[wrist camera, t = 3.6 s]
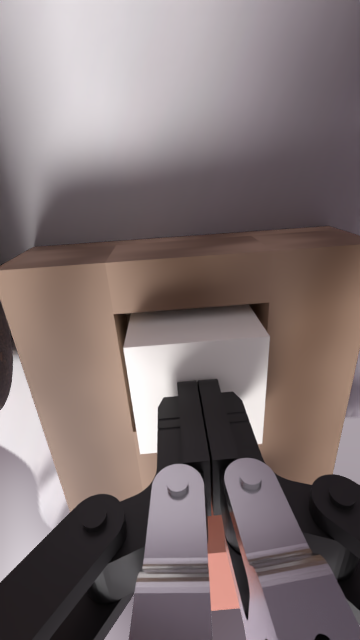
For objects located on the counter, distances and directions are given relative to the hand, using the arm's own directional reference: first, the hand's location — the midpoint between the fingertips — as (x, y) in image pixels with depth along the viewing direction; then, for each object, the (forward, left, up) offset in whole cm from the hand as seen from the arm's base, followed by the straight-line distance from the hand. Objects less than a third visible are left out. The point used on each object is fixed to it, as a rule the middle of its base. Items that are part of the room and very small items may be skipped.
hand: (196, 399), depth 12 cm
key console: (0, +5, -6) cm, 8 cm away
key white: (0, 0, -4) cm, 4 cm away
